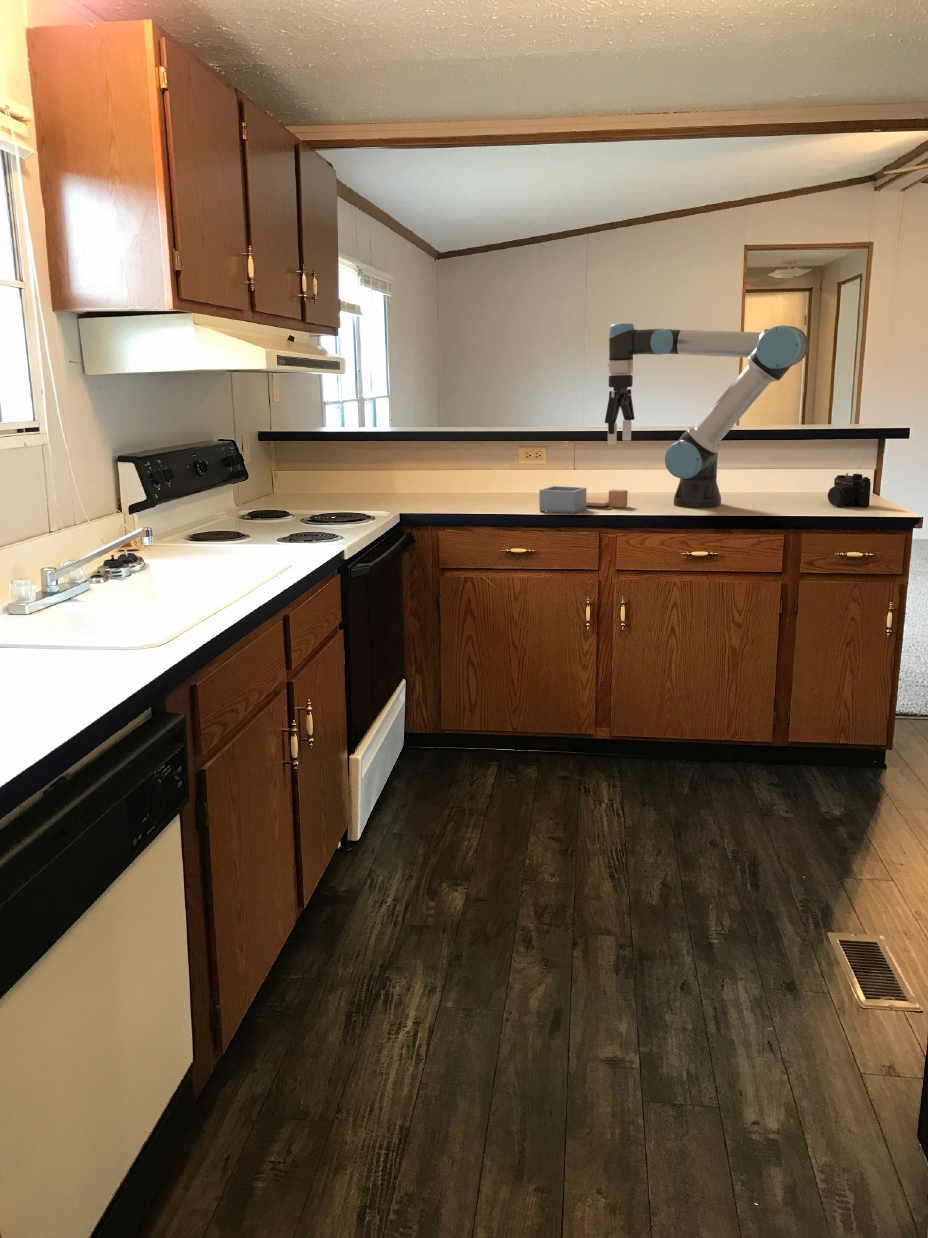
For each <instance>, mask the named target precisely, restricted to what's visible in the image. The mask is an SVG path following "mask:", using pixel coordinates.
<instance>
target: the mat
mask: <svg viewBox="0 0 928 1238" xmlns="http://www.w3.org/2000/svg"><path fill="white" fill-rule="evenodd" d="M616 508H617V507H608V505H607V506H602V507H595V506H586V510H587V509H588V510H591V509H592V510H602V511H603V510H604V511H605V510H607V511H610V510H611V511H612V510H613V509H616Z"/></svg>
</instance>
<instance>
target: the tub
mask: <svg viewBox="0 0 928 1238" xmlns="http://www.w3.org/2000/svg"><path fill="white" fill-rule="evenodd" d="M538 491H539V493H538V494H539V495H538V498H539V499H538V500H539V501H538V504H539V509H538V510H539V511H547V512H546V513H550V512H558V513H557V514H566V513H570V514H571V515H575V514H578V513H580V512H579V511H581V512H583V511H586V510H587V509H586V497H587V487H581V486H578V487H577V486H560V485H558V486H556V485H551V486H548V487H544V488H541V489H539V490H538ZM585 509H586V510H585ZM539 511H538V512H539ZM577 512H578V513H577Z"/></svg>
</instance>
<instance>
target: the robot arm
mask: <svg viewBox="0 0 928 1238" xmlns="http://www.w3.org/2000/svg"><path fill="white" fill-rule="evenodd" d="M608 336H609V337H608V352H609V353H608V363H607V367H608V373H609V374H610V375H609V376H608V388H613V390H610V391H609V392H608V401H607V407H606V412H605V416H604V417H605V419H604V423H605V424H607V445H613V446H614V445H617V444H618V443H617V440H618V439H617V436H618V434H617V433H618V423H616V422H617V419H618V415H619V412H620V410H621V413H622V416H623V420H622V438H621V439H622V441H629V442H630V441H632V421H634V420H635V413H634V412H635V411H634V405H633V398H632V389H631V387H633V380H634V379H633V377H634V376H633V375H632V374H633V373H634V355H658V356H659V355H688V356H689V355H691V356H706V357H707V356H709V357H729V358H731V357H732V358H733V357H734V358H747V359H748V364H747V365H746V366H745V367H744V369H743V370H742V371H741V372H740V373H739V374H738V375H737V377H736V378H735V379H734V380H733V382H732V383H731V384H730V385H729V387H728V388H727V389H726V390H725V392H723V394H722V395H721V396H720V397H719V398H718V400H717V401H716V402H715V403H714V404H713V406H712V407H711V408H710V409H709V411H708V412H707V413H706V414H705V415H704V416H703V418H702V419H701V420H700V421H699V422H698V424H697V425H696V426H691V427H690V426H689V427H688V428H687V429H686V430H685V432H684V433H683V434H682V435H681V436H680V438H679V439H677V441H676V442H673V443H672V444H670V445H669V447H668V448H667V449H666V451H665V454H664V465H665V467H666V469H667V471H668V472H669V473H670V475H672V476H673V477H675V478H677V479H679V482H678V485H677V488H676V491H675V494H674V497H673V505H674V506H677V507H682V508H698V509H699V508H701V509H702V508H715V507H719V506H721V505H722V497H721V493H720V489H719V485H718V481H717V479H718V478H717V475H718V457H719V454H718V453H719V445H720V442H721V441H722V439H724V437H726V435H728V433H729V432H730V431H731V430H732V428H733V427H734V426H735V425H736V423H738V421H739V420H740V419H741V418H742V416H743V415H744V414H745V413H746V412H747V411H748V409H750V407H751V406H752V405H753V403H755V401H757V399H758V398H759V397H760V396H761V394H762V393H763V392H764V391H765V390H766V389H767V387H768V386H769V385H770V384H771V383H773V382H779V381H780V380H781V379H782V378H783V376H784V375H785V374H786V373H788V371H789V370H790V369H791V368H792V367H793V366H795V365H798V364H799V363H800V362H801V361H803V359H804V358H805V357H806V355H807V353H808V350H809V340H808V337H807V335H806V333H805V332H804V331H803V329H801V328H798V327H795V326H792V325H791V326H790V325H776V326H773V327H771V328H768V329H767V328H765V329H764V330H762V331H761V332H759V331H734V330H733V331H730V330H729V331H727V330H726V331H725V330H696V329H671V328H651V329H648V328H647V329H635V325H634V324H633V323H627V322H625V323H613V324H611V325H610V326H609V335H608Z"/></svg>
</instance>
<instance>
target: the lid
mask: <svg viewBox="0 0 928 1238" xmlns="http://www.w3.org/2000/svg"><path fill="white" fill-rule="evenodd" d="M628 493H629V492H628V489H610V490H608V497H598V496H596V497H594V496H586V506H595V507H602V506H607V505H608V507H616V508H625V507H628Z"/></svg>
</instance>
